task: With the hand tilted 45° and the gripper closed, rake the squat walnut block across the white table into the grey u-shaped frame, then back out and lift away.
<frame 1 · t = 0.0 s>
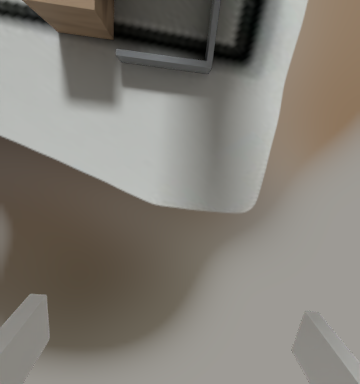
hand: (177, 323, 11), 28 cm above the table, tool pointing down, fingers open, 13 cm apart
grey u-shaped frame: (169, 16, 30), on the table
walnut block: (86, 4, 30), on the table
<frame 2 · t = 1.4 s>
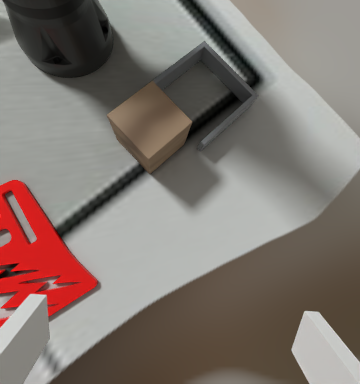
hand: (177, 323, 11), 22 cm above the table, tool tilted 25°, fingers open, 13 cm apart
grey u-shaped frame: (200, 101, 38), on the table
walnut block: (151, 142, 36), on the table
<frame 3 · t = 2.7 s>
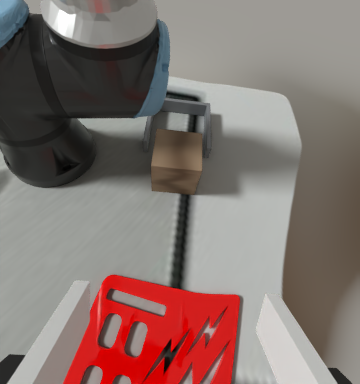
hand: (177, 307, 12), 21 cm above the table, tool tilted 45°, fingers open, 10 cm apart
grey u-shaped frame: (178, 131, 47), on the table
walnut block: (174, 175, 41), on the table
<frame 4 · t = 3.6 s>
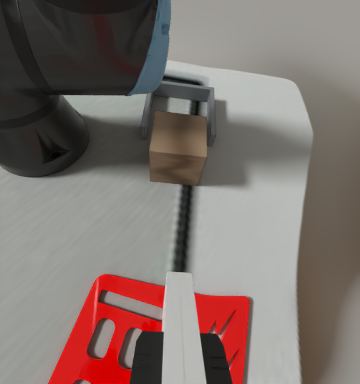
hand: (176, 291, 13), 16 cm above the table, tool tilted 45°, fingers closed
grey u-shaped frame: (179, 117, 43), on the table
walnut block: (175, 164, 37), on the table
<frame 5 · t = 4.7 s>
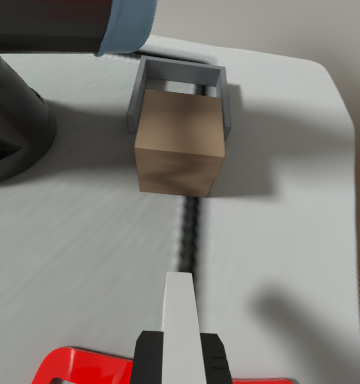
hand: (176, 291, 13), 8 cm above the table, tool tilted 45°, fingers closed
grey u-shaped frame: (180, 105, 33), on the table
walnut block: (175, 167, 27), on the table
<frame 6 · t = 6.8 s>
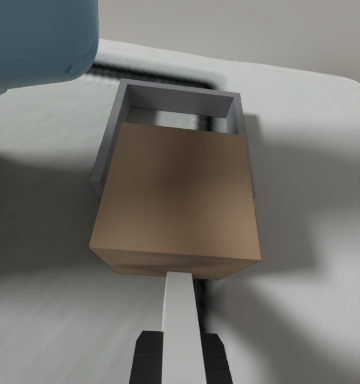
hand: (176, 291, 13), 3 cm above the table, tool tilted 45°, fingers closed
grey u-shaped frame: (176, 149, 23), on the table
walnut block: (171, 228, 18), on the table, touching gripper
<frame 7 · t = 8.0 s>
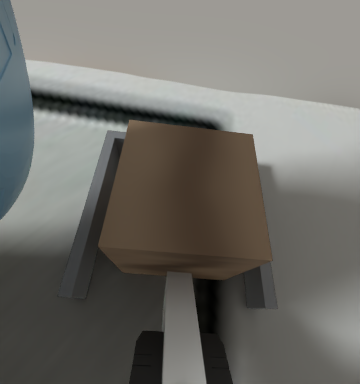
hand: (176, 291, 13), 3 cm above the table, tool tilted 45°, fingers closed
grey u-shaped frame: (174, 218, 19), on the table
walnut block: (177, 228, 18), on the table, touching gripper
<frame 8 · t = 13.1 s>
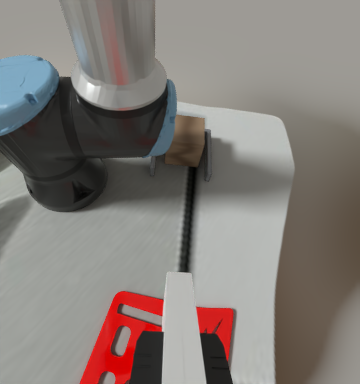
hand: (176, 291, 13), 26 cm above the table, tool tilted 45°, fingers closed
grey u-shaped frame: (181, 155, 51), on the table
walnut block: (182, 152, 52), on the table
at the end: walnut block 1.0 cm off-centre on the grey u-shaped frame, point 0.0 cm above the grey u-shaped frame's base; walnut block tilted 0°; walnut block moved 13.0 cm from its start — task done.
